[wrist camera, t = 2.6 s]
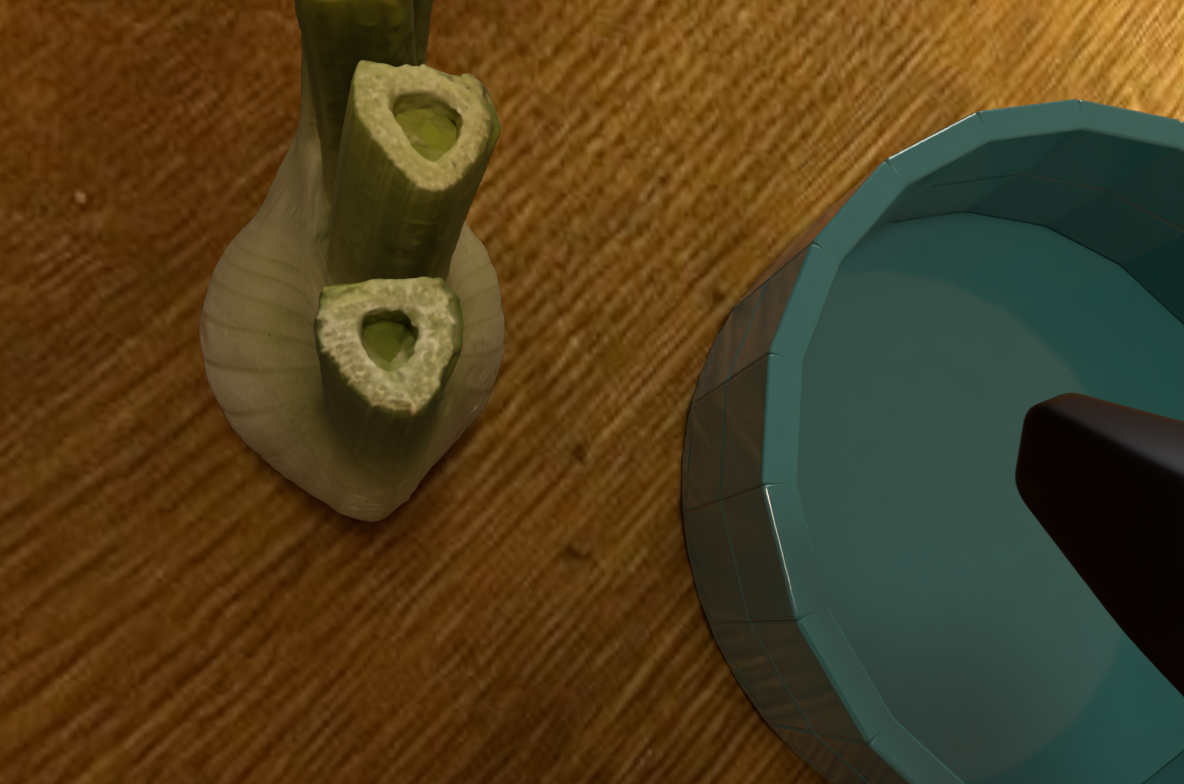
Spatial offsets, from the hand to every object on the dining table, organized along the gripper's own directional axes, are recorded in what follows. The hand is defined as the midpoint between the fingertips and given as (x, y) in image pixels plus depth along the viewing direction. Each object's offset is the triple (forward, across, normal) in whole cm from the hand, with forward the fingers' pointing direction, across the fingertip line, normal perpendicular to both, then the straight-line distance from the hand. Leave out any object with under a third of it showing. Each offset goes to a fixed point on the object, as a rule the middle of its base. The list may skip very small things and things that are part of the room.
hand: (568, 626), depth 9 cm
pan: (+7, -11, +9) cm, 16 cm away
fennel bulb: (+12, 0, +5) cm, 13 cm away
